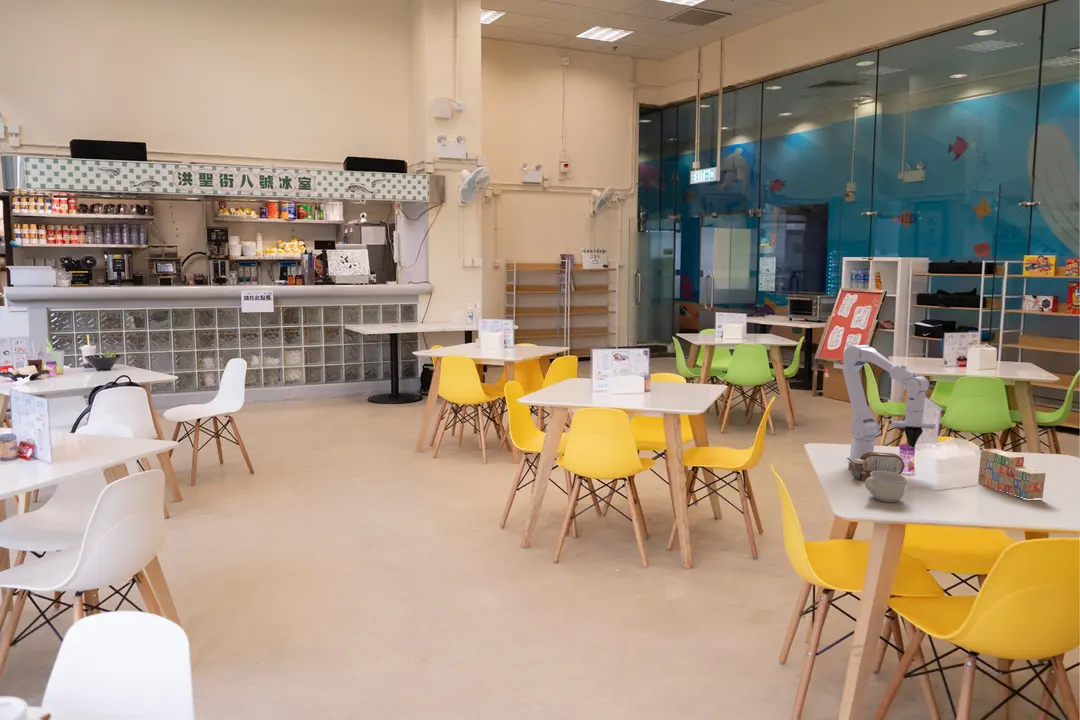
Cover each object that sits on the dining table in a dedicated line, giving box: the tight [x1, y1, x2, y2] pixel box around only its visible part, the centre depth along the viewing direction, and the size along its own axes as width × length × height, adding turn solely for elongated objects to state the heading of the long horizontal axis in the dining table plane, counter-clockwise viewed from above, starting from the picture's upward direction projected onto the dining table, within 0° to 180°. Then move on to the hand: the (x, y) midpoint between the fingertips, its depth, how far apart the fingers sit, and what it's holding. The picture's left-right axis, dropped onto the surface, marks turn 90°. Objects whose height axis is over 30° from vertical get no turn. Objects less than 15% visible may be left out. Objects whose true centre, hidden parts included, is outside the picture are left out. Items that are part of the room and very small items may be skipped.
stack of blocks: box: [977, 448, 1046, 499], centre depth 271 cm, size 21×6×12 cm, turn 13°
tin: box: [860, 451, 905, 475], centre depth 285 cm, size 15×3×8 cm, turn 85°
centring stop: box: [847, 459, 872, 482], centre depth 286 cm, size 16×8×7 cm, turn 175°
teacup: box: [864, 471, 908, 503], centre depth 256 cm, size 14×11×8 cm
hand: (911, 447), depth 289 cm, fingers closed
